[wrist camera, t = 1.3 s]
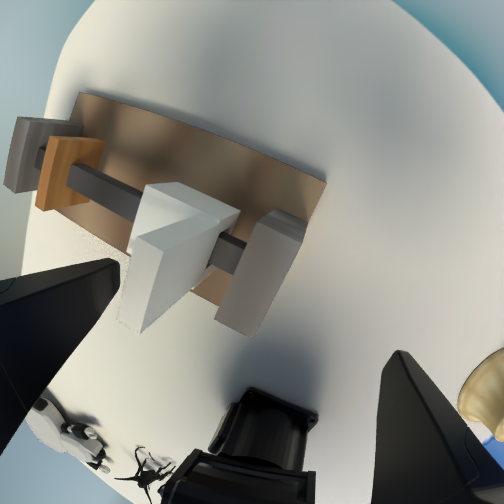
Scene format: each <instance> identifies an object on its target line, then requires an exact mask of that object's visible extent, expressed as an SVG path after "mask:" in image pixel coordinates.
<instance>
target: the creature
mask: <svg viewBox="0 0 504 504" xmlns="http://www.w3.org/2000/svg"><path fill="white" fill-rule="evenodd" d="M139 448H145V447H138V448H137V449H136V450H135V457H136V460H137V462H138V465H139V468H138V471H137V473H136V474H135V476H134V477H130V478H114V479H117V480H133V481H137V482H138V486H139V487H140V488H144V490H145V492H146V494H147V496H148V498H149V500H150V503H151V504H152V502H151V499H150V496H149V494H148V490H147V485H148V489H150V487H149V484H150V483H152V482H153V481H155V480H159V479H160V480H159V481H161V480H163V479H164V478H165V477H166V476H167V475H168V474H170V473H172V471H173V469H174V468H175V467H176V466H174V467H173V468H172V469H171V471H169V472H166V473H165V474H162V475H160V474H159V473H160V472H161V470H162V469H163V470H164V469H166V468H167V467H168V466H169V465H170V464H171V462H170V463H169V464H168V465H167V466H166V467H164V468H161V467H160V468H159V469H158V471H157V472H156V473H155V470H149V471H143V466H144V465H145V463H146V460H144V462H143V464H142V465H141V463H140V461H139V459H138V458H137V453H136V451H137V450H138V449H139ZM149 455H150V452H149ZM150 456H151V455H150ZM151 458H152V457H151ZM146 459H149V458H146ZM152 460H154V459H153V458H152ZM154 461H155V460H154ZM140 471H141V473H140ZM139 473H140V476H138V475H139ZM172 474H174V473H172ZM169 476H170V475H169ZM164 486H165V484H164V485H162V486H161V487H160V488H159V489H158V491H157V492H158V493H159V494H160V490H161V488H162V487H164Z"/></svg>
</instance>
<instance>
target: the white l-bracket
mask: <svg viewBox="0 0 504 504" xmlns="http://www.w3.org/2000/svg"><path fill="white" fill-rule="evenodd" d="M240 212H241V211H240V210H238V209H236V208H234V207H232V206H230V205H227V204H225V203H223V202H221V201H219V200H217V199H214V198H212V197H210V196H208V195H206V194H204V193H201V192H199V191H197V190H195V189H193V188H191V187H188V186H186V185H184V184H182V183H179V182H170V183H159V184H148V185H146V186H145V189H144V192H143V195H142V198H141V201H140V205H139V208H138V211H137V215H136V218H135V221H134V225H133V228H132V232H131V236H130V239H129V243H128V247H127V251H126V252H127V253H129V254H131V258H130V262H129V266H128V270H127V274H126V278H125V282H124V286H123V291H122V295H121V300H120V304H119V309H118V314H117V319H116V320H118V321H119V322H121V323H122V324H124V325H125V326H127V327H128V328H130V329H131V330H133V331H134V332H136V333H138V334H139V335H140V334H141V333H142V332H143V331H144V330H145V329H146V328H148V327H149V326H150V325H151V324H152V323H153V322H154V321H155V320H157V319H158V318H159V317H160V316H161V315H162V314H163V313H164V312H166V311H167V310H168V309H169V308H170V307H171V306H172V305H173V304H175V303H176V302H177V301H178V300H179V299H180V298H181V297H183V296H184V295H185V294H186V293H187V292H188V291H189V290H190V289H192V290H193V289H194V288H195V287H196V286H198V285H199V284H200V283H201V282H202V281H203V280H204V279H205V278H207V277H208V276H209V275H210V274H211V273H212V272H213V271H214V270H215V269H217V267H215V266H213V265H212V264H210V263H208V261H209V258H210V256H211V253H212V251H213V248H214V246H215V243H216V241H217V238H218V236H219V233H221V232H223V231H224V232H226V233H228V234H230V235H231V233H232V231H233V228H234V226H235V224H236V221H237V219H238V216H239V214H240Z"/></svg>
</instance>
